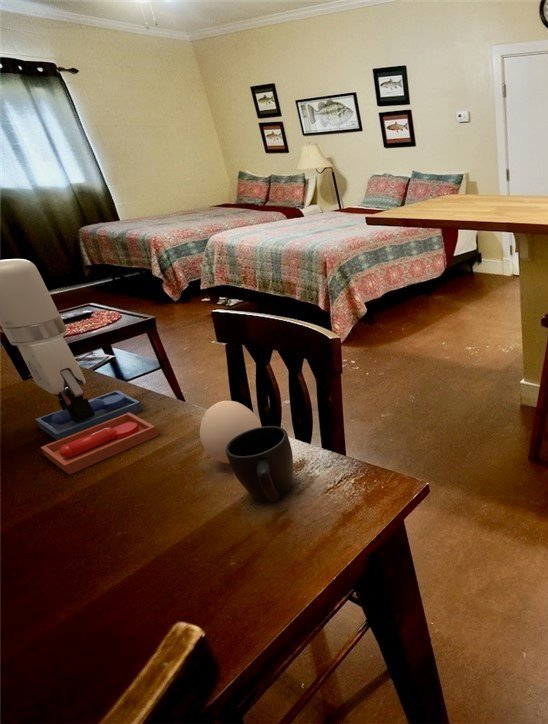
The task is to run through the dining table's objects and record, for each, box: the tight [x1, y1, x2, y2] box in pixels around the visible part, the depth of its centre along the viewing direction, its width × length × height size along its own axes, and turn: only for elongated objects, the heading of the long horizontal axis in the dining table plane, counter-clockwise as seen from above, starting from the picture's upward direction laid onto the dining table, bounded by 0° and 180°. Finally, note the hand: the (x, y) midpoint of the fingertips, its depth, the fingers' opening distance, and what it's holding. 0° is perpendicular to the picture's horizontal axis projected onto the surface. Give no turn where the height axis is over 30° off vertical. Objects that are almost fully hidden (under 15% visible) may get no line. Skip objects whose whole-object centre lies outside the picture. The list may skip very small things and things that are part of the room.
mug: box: [225, 425, 294, 503], centre depth 72 cm, size 8×12×10 cm
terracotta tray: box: [40, 413, 159, 476], centre depth 86 cm, size 13×10×2 cm
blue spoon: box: [52, 395, 126, 425], centre depth 93 cm, size 11×4×2 cm, turn 150°
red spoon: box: [59, 422, 140, 458], centre depth 85 cm, size 11×4×2 cm, turn 150°
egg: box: [199, 400, 262, 465], centre depth 80 cm, size 9×9×11 cm
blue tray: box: [34, 389, 144, 441], centre depth 94 cm, size 13×10×2 cm
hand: (81, 416), depth 93 cm, fingers closed on blue spoon, 2 cm apart
